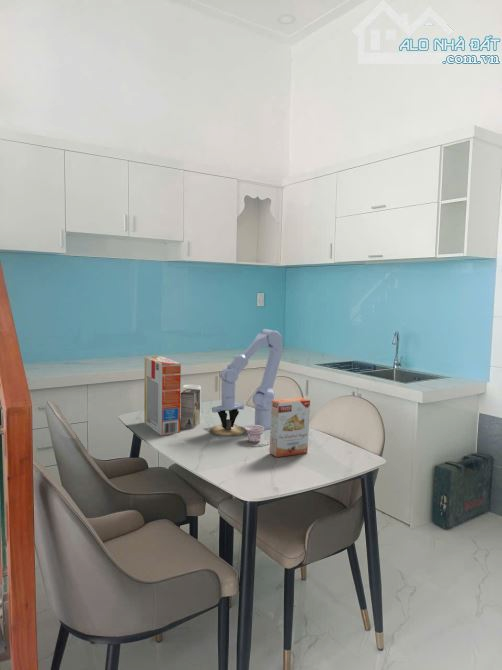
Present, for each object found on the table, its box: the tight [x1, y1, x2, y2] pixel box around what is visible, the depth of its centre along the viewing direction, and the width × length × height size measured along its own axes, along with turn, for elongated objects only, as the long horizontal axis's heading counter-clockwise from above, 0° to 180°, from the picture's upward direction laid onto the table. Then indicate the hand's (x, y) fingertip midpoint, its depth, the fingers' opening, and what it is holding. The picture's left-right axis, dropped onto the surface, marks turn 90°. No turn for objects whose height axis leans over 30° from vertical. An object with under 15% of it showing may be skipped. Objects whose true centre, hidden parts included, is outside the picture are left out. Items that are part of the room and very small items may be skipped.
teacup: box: [244, 424, 270, 448], centre depth 208 cm, size 12×12×6 cm
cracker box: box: [269, 397, 311, 458], centre depth 194 cm, size 14×6×21 cm, turn 117°
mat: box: [202, 423, 248, 439], centre depth 221 cm, size 16×16×1 cm
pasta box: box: [143, 355, 182, 437], centre depth 224 cm, size 23×8×30 cm, turn 30°
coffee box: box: [180, 389, 201, 430], centre depth 228 cm, size 9×6×16 cm
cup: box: [182, 384, 202, 413], centre depth 239 cm, size 8×8×16 cm
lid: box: [210, 418, 245, 437], centre depth 221 cm, size 15×15×5 cm
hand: (227, 427), depth 221 cm, fingers closed on lid, 3 cm apart
